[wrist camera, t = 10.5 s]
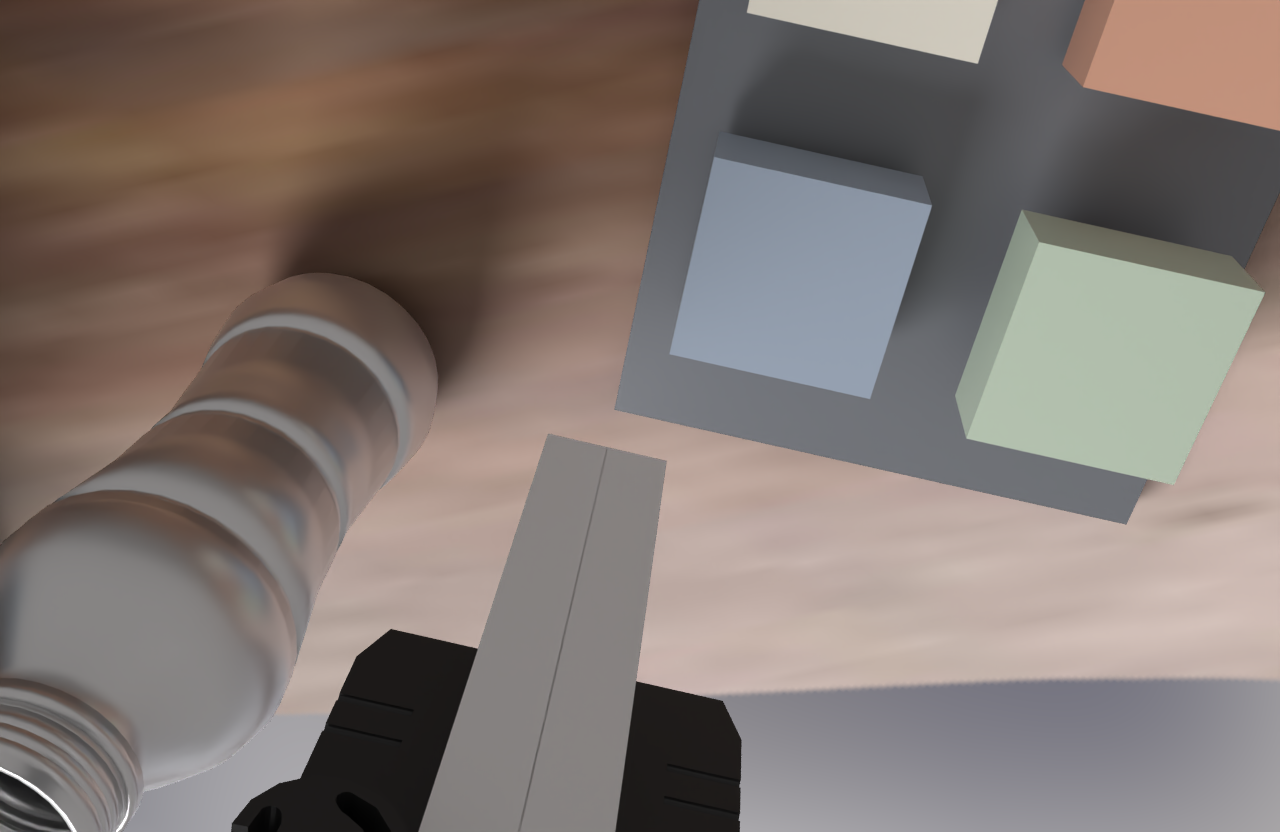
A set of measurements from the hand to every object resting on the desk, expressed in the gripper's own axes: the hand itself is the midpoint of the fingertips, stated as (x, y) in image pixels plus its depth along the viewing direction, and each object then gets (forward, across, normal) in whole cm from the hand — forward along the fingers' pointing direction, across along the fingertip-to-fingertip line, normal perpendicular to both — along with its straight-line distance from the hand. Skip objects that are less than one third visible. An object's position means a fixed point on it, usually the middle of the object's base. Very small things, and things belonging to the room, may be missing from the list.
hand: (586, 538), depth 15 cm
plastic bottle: (+22, -8, -9) cm, 25 cm away
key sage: (+18, +12, -2) cm, 22 cm away
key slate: (+19, +4, -2) cm, 20 cm away
